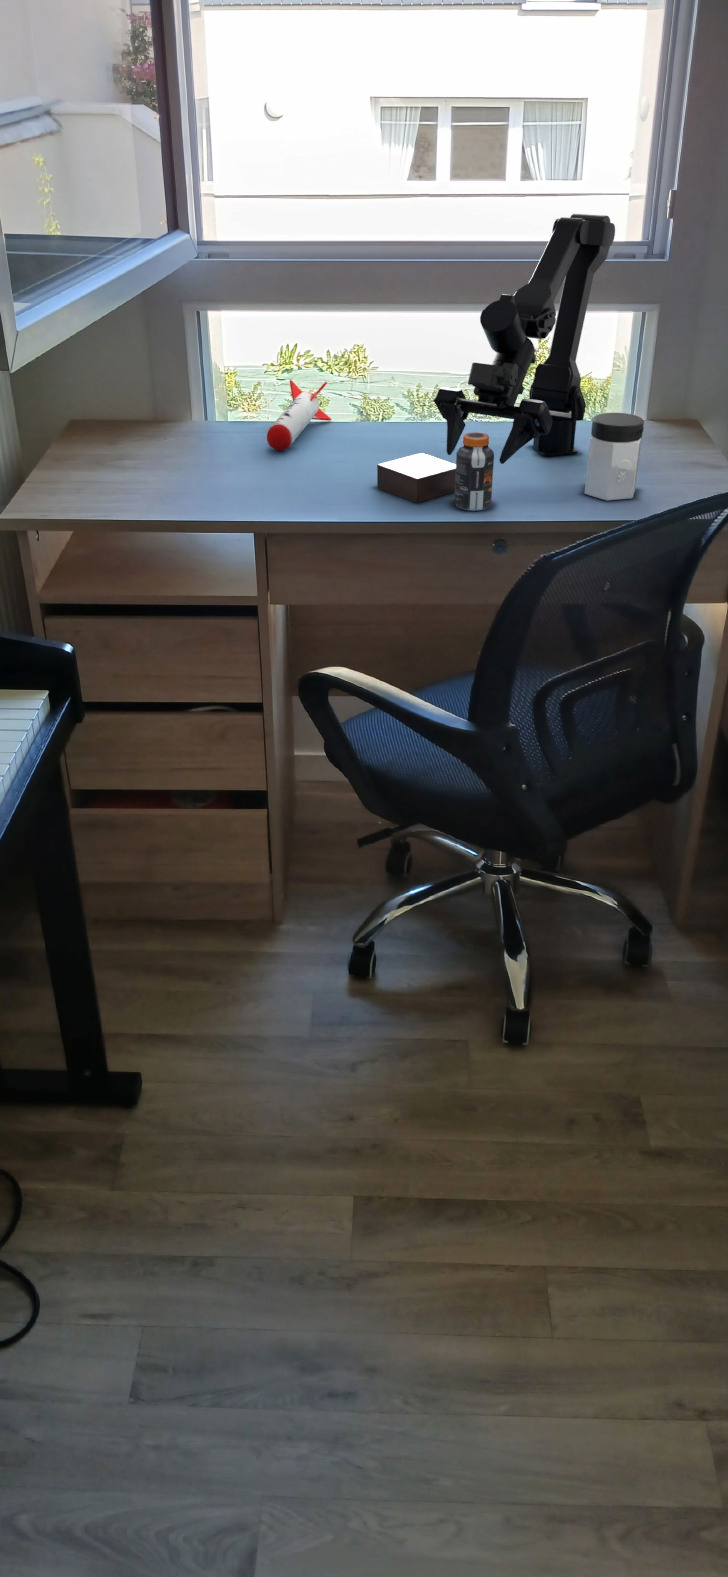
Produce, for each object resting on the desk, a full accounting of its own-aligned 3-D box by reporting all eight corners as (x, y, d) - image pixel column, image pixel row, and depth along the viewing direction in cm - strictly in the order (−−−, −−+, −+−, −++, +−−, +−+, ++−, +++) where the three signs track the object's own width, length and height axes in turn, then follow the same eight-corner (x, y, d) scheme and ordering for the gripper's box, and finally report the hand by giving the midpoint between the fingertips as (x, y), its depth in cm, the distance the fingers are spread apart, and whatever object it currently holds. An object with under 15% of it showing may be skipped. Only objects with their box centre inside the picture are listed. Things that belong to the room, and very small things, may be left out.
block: (421, 475, 198) (422, 452, 196) (461, 489, 192) (462, 466, 190) (377, 487, 193) (377, 464, 191) (416, 503, 187) (417, 478, 185)
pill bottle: (488, 512, 183) (492, 441, 177) (451, 510, 184) (454, 438, 178) (493, 500, 188) (497, 430, 182) (456, 497, 189) (459, 428, 183)
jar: (594, 502, 186) (602, 427, 180) (575, 486, 193) (582, 413, 187) (645, 498, 188) (655, 423, 182) (625, 482, 195) (633, 410, 188)
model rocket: (237, 439, 210) (270, 400, 204) (274, 397, 228) (305, 361, 222) (281, 480, 212) (315, 444, 207) (315, 436, 230) (347, 401, 225)
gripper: (441, 333, 180) (405, 421, 178) (551, 346, 172) (516, 438, 170) (461, 375, 190) (428, 459, 188) (567, 389, 182) (533, 477, 180)
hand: (474, 457), depth 181 cm, fingers open, 9 cm apart
